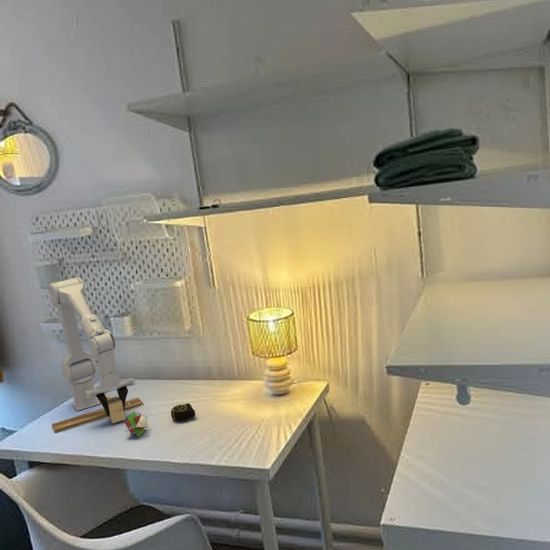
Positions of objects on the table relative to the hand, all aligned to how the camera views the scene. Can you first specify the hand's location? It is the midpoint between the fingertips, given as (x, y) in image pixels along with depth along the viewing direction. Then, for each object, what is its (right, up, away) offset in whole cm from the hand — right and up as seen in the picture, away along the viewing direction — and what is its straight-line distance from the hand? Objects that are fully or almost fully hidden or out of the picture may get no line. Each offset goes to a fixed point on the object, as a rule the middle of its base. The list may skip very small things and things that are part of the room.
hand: (115, 413), depth 187 cm
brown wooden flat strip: (-7, -2, +7) cm, 10 cm away
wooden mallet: (-1, -1, +3) cm, 4 cm away
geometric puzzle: (+10, -4, -11) cm, 15 cm away
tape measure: (+22, -1, -4) cm, 23 cm away
